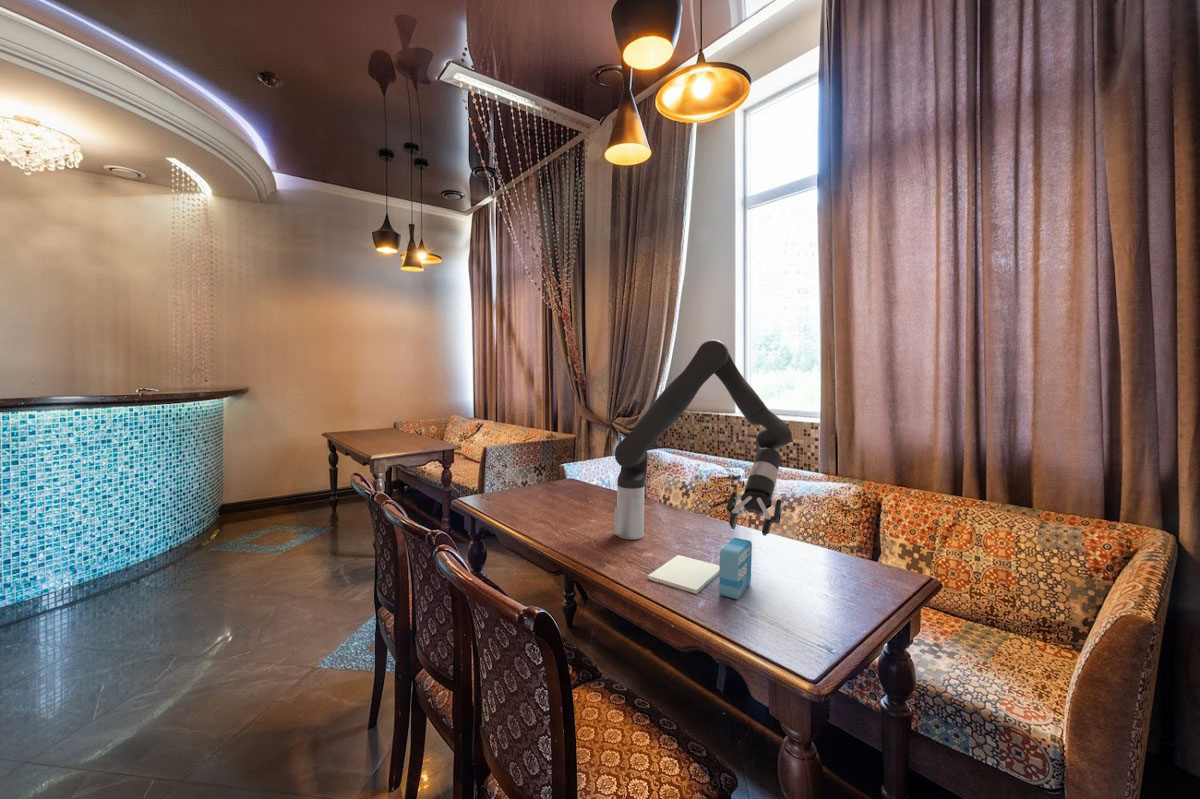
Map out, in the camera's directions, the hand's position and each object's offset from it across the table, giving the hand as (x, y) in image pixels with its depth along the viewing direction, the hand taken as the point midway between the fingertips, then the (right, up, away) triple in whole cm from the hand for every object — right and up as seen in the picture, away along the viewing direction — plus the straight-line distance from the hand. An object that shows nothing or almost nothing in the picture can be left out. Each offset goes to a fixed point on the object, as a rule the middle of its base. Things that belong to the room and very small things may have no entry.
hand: (747, 530), depth 125 cm
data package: (-5, -14, -6) cm, 16 cm away
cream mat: (-16, -13, +3) cm, 21 cm away
